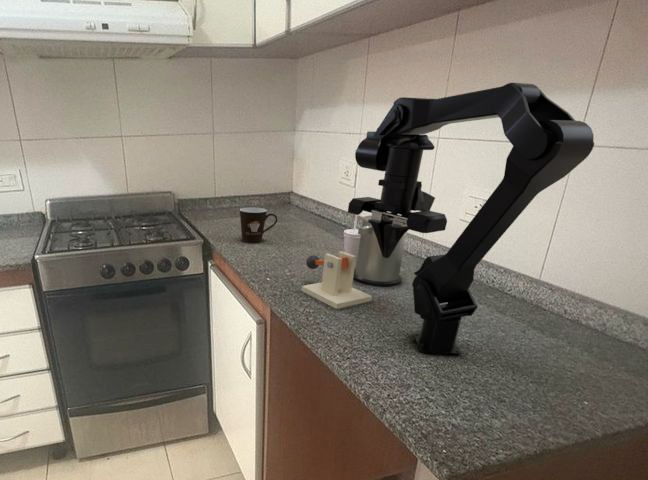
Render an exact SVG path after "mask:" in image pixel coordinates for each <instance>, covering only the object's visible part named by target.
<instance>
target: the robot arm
mask: <svg viewBox="0 0 648 480" xmlns="http://www.w3.org/2000/svg"><path fill="white" fill-rule="evenodd" d="M496 118H499V119H500V121H501V125H502V129H503V130H502V131H503V134H504V137H506V139H507V140H508V141H509V143H510V144H511V145H512V148H511V149H510V151H509V153H508V155H507V157H506V161H505V167H504V174H503V177H502V179H501V181H500V182H499V184H498V185H497V186H496V188H495V189H494V190H493V191H492V193H491V194H490V195H489V197H488V198H487V199H486V201H485V203H484V204H483V205H482V206H481V208H479V210H478V211H477V213H476V214H475V215H474V217H472V219H471V221H469V223H468V224H467V226H466V227H465V228H464V229H463V231H462V232H461V234H460V235H459V236H458V238H457V239H456V240H455V242H454V243H453V244H452V245H451V247H450V248H449V249H448V251H447V252H446V253H445V254H438V255H430V256H427V257H425V259H424V260H423V262H422V264H421V266H420V268H419V269H418V270H416V271H415V272H413V274H414V275H415V276H414V279H413V281H412V292H413V293H412V294H413V306H414V314H416V315H418V316H420V319H422V326H421V329H420V333H414V334H413V340H414V342H415V343H416V345H417V347H418V349H419V351H420V352H421V353H422V354H423V353H424V354H436V355H448V356H461V354H462V352H461V350H460V348H459V347H458V346H457V345H456V340H457V337H458V333H459V329H460V325H461V321H462V318H463V317H471V316H473V315H474V313H475V311H477V309H478V304H477V302H476V300H475V298H474V296H473V294H472V293H471V290H470V287H471V285H472V284H473V282H474V277H475V269H476V268H477V266H478V264H479V263H481V261H482V260H483V259H484V258H485V256H486V255H487V254H488V253H489V251H490V250H491V249H492V248H493V247H494V246H495V245H496V243H497V242H498V241H499V240H500V239H501V238H502V236H503V235H504V234H505V233H506V232H507V230H508V229H509V228H510V227H511V226H512V225H513V224H514V222H515V221H516V220H517V219H518V218H519V217H520V215H521V214H522V213H523V212H524V211H525V209H526V208H527V207H528V206H529V205H530V204H531V202H532V201H533V200H534V199H535V197H537V196H538V195H539V194H540V193H541V192H543V191H544V190H545V189H548V188H549V187H551V186H552V185H554V184H555V183H557V182H558V181H561V180H562V179H564V178H565V177H566V176H568V175H569V174H570V173H571V172H572V171H573V170H575V169H576V168H577V167H578V166H579V165H580V164H581V163H583V162H584V161H585V160H586V159H587V158H588V157H589V156H590V155H591V153H592V151H593V149H594V146H595V142H594V132H593V130H592V128H591V126H590V125H589V124H588V123H586V122H584V121H581V120H577V119H575V118H574V117H573V116H572V115H571V114H570V113H569V112H568V111H567V110H565V109H564V108H562V107H561V106H560V105H558V104H557V103H556V102H554V101H553V100H551V99H550V98H549V97H548V96H547V95H546V94H545V93H544V92H543V91H542V90H541V89H540V88H539V87H538V86H537V85H536V84H534V83H525V82H524V83H523V82H509V83H506V84H504V85H502V86H497V87H492V88H487V89H481V90H476V91H471V92H466V93H460V94H455V95H451V96H445V97H439V98H427V97H424V98H423V97H404V96H403V97H399V98H396V99H395V100H394V101H393V104H392V106H391V107H390V109H389V110H388V112H387V114H386V115H385V117H384V118H383V120H382V121H381V123H380V124H379V126H378V127H377V128H376V130H375V131H371V130H370V131H369V130H368V131H367V132H366V137H365V138H363V140H361V141H360V142H359V144H358V146H357V148H356V149H355V153H354V159H355V162H356V164H357V165H358V166H359V167H360V168H364V169H368V170H373V171H379V172H384V177H383V178H382V179H381V178H379V179H378V186H381V187H382V189H381V194H380V199H379V198H375V197H372V196H363V197H353V198H352V199H351V200H350V201H349V202H348V207H347V213H348V214H352V215H354V216H355V215H358V216H360V215H361V214H362V213H363V212H367V213H370V214H371V215H372V217H371V219H369V220H368V223H371V225H372V228H373V230H374V233H375V235H376V238H377V241H378V244H379V247H380V250H381V253H382V257H384V258H389V257H390V255H391V254H392V252H393V250H394V249H395V247H396V246H397V244H398V242H399V241H400V239H401V238H402V236H403V235H404V234H405V233H406V232H407V233H408V231H413V232H417V233H420V234H429V233H436V232H442V231H446V228H447V223H448V219H447V216H446V214H445V213H441V212H437V211H433V210H431V209H432V207H433V204H434V202H435V200H436V197H435V196H433V195H432V194H429V193H428V192H426V191H423V190H422V186H423V184H422V181H419V180H418V178H419V173H420V169H421V164H422V160H423V159H422V158H423V153H424V151H433V150H434V149H435V145H434V143H433V142H432V141H431V140H430V138H429V136H428V135H427V134H429V133H432V132H435V131H437V130H440V129H441V128H442V127H444V126H448V125H450V124H458V123H466V122H473V121H474V122H475V121H481V120H482V121H483V120H488V119H489V120H490V119H496Z"/></svg>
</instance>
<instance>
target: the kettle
mask: <svg viewBox="0 0 648 480" xmlns="http://www.w3.org/2000/svg"><path fill="white" fill-rule="evenodd" d="M371 217H372V214H370V215H364V216H363V217H362V221H361V226H359V227H358V234H359V235H361V236H360V243H359V250H358V257H357V264H356V268H355V269H354V276H353V281H355V282H356V283H359V284H362V285H364V286H369V287H377V288H393V287H397V286H399V285H401V284H402V282H403V277H402V276H401V275H400V273H401V266H402V262H403V257H404V251H405V246H406V240H407V235H408V231H407V232H406V233H405V234H404V235H403V236H402V238H401V239H400V241H399V242H398V244H397V246H396V247H395V249H394V250H393V252H392V254H391V255H390V257H389V258H384V257H382V253H381V250H380V247H379V244H378V241H377V238H376V235H375V233H374V230H373V228H372V225H371V223H368V220H369V219H371Z"/></svg>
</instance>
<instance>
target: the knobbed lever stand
mask: <svg viewBox="0 0 648 480" xmlns="http://www.w3.org/2000/svg"><path fill="white" fill-rule="evenodd" d="M339 257H347V259H348V268H345V269H341V263H342V258H339ZM323 260H324V265H323V268H322V278H321V282H316V283H315V282H314V283H311V284H305V285H302V286H301V289H300V290H301V292H303V293H305V294H307V295H309V296H310V297H313V298H314V299H317V301H318V300H319V301H321V302H323V303H324V304H326V305H328V306H330V307H332V308H334V309H335V310H338V309H342V308H347V307H352V306H356V305H360V304H364V303H369V302H372V299H373V296H372V294H368V293H366V292H364V291H361V290H359V289H357V288H355V287H353V282H354V280H353V276H354V270H356V268H355V262H356V256H354V255H351V254H348V253H346V252H344V251H338V256H336V255H335V254H331V253H324V259H323Z"/></svg>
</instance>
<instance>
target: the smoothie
mask: <svg viewBox="0 0 648 480" xmlns="http://www.w3.org/2000/svg"><path fill="white" fill-rule="evenodd" d="M354 216H355V217H354V223H353V228H348V229H344V230H343V234H342V235H343V236H344V237H343V245H344V247H343V249H344V251H343V252H346V253H348V254H351V255H354V256H356V262H355V269H356V264H357V257H358V250H359V243H360V236H361V235H359V234H358V229H359V228H358V229H357V223H358V216H359V215H355V214H354Z"/></svg>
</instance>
